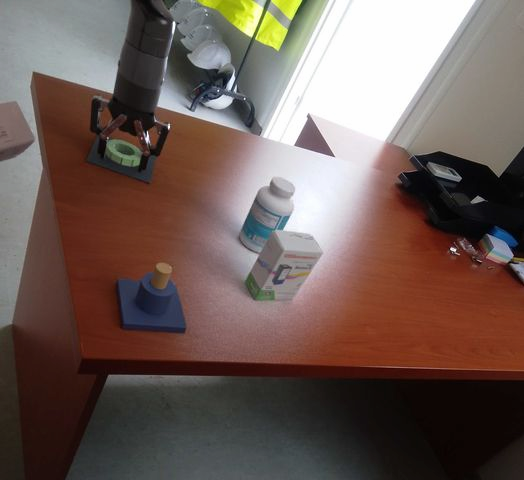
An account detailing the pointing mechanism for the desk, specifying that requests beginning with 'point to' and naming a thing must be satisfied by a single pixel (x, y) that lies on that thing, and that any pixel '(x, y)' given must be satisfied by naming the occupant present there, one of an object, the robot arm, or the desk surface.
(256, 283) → the ink box
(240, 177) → the desk surface
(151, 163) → the mat
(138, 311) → the stand
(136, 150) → the ring
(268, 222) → the pill bottle
